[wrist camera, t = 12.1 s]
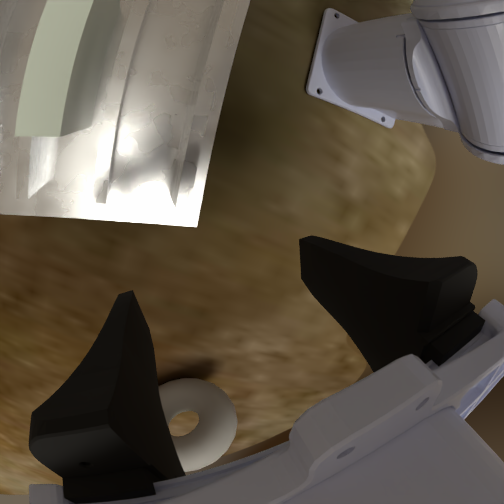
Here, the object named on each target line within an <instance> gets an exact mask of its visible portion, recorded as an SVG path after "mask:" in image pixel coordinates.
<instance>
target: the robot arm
mask: <svg viewBox="0 0 504 504" xmlns="http://www.w3.org/2000/svg"><path fill="white" fill-rule="evenodd" d="M410 10H411V11H412V13H409V14H402V15H396V16H390V17H384V18H379V19H374V20H369V21H364V22H360V23H358V22H357V21H355V20H353V19H351V18H350V17H348V16H346V15H344V14H342V13H340V12H338V11H337V10H335V9H333V8H328V9H326V10H325V11H324V15H323V19H322V23H321V27H320V31H319V36H318V40H317V44H316V48H315V52H314V57H313V61H312V65H311V69H310V73H309V77H308V81H307V85H306V92H307V93H308V94H309V95H311V96H313V97H316V98H319V99H322V100H324V101H327V102H329V103H332V104H334V105H337V106H339V107H342V108H344V109H347V110H349V111H351V112H354V113H356V114H358V115H361V116H363V117H365V118H367V119H370V120H372V121H374V122H376V123H378V124H380V125H382V126H385V127H387V128H392V127H393V125H394V122H395V119H399V120H405V121H411V122H416V123H421V124H426V125H431V126H436V127H441V128H444V129H446V130H450V131H454V132H458V133H459V134H460V138H461V141H462V143H463V145H464V146H465V147H466V149H467V150H468V151H469V152H471V153H472V154H473V155H475V156H477V157H479V158H481V159H483V160H486V161H489V162H493V163H497V164H503V165H504V0H414V1H413V4H411V6H410ZM334 14H335V15H336V16H337V18H336V17H335V16H334ZM317 89H319V91H320V93H319V94H317ZM381 118H382V121H381ZM299 246H300V263H301V279H302V280H303V282H304V283H305V285H306V286H307V288H308V289H309V291H310V292H311V293H312V295H313V296H314V297H315V298H316V299H317V300H318V302H319V303H320V304H321V305H322V306H323V307H324V308H325V309H326V310H327V311H328V312H329V313H330V314H331V315H332V316H333V318H334V319H335V320H336V321H337V322H338V323H339V324H340V325H341V326H342V327H343V328H344V330H345V331H346V332H347V333H348V335H349V336H350V337H351V339H352V340H353V342H354V343H355V344H356V346H357V347H358V349H359V350H360V351H361V353H362V355H363V356H364V358H365V359H366V361H367V362H368V364H369V365H370V367H371V369H372V370H373V372H374V373H373V374H371V375H369V376H368V377H365V378H364V379H362V380H360V381H358V382H356V383H355V384H353V385H351V386H349V387H347V388H345V389H343V390H341V391H339V392H337V393H335V394H333V395H331V396H329V397H327V398H325V399H324V400H322V401H320V402H319V403H317V404H315V405H314V406H312V407H311V408H309V409H307V410H306V411H305V412H304V413H303V414H302V415H301V416H300V417H299V418H298V419H297V420H296V421H295V423H294V425H293V428H292V431H291V432H290V435H289V439H290V440H289V441H287V442H285V443H282V444H280V445H277V446H275V447H272V448H270V449H267V450H265V451H262V452H260V453H257V454H254V455H252V456H249V457H246V458H243V459H240V460H237V461H234V462H231V463H228V464H225V465H222V466H218V467H215V468H212V469H209V470H205V471H202V472H198V473H194V474H190V475H185V472H184V470H183V468H182V465H181V463H180V460H179V457H178V454H177V452H176V449H175V446H174V443H173V440H172V437H171V434H170V431H169V428H168V425H167V422H166V418H165V415H164V411H163V407H162V404H161V399H160V394H159V387H158V379H157V371H156V363H155V354H154V347H153V343H152V339H151V334H150V330H149V327H148V325H147V323H146V320H145V318H144V316H143V313H142V311H141V309H140V306H139V304H138V302H137V299H136V297H135V294H134V292H133V290H132V291H128V292H125V293H122V294H119V295H118V297H117V299H116V301H115V303H114V305H113V307H112V309H111V311H110V314H109V316H108V318H107V320H106V322H105V324H104V326H103V328H102V330H101V331H100V333H99V335H98V337H97V339H96V341H95V342H94V344H93V346H92V347H91V349H90V350H89V352H88V353H87V355H86V356H85V358H84V359H83V361H82V362H81V363H80V365H79V366H78V367H77V368H76V370H75V371H74V372H73V373H72V374H71V376H70V377H69V378H68V379H67V380H66V382H65V383H64V384H63V385H62V386H61V387H60V388H59V389H58V390H57V391H56V392H55V393H54V394H53V395H52V396H51V397H50V398H49V399H47V400H46V401H45V402H44V403H43V404H42V405H40V406H39V407H38V408H37V409H36V410H34V411H33V412H32V415H31V424H30V435H29V450H30V451H31V453H32V454H33V456H34V457H35V458H36V459H37V460H38V461H40V462H41V463H42V464H43V465H45V466H46V467H48V468H49V469H50V470H52V471H53V472H55V473H56V474H58V475H59V476H61V477H62V478H63V486H61V485H57V484H31V485H29V500H30V504H504V463H503V461H502V460H501V459H500V458H499V457H498V456H497V455H496V454H495V452H494V451H493V450H492V449H491V448H490V447H489V446H488V445H487V444H486V443H485V442H484V441H483V439H482V438H481V437H480V436H479V435H477V433H476V432H475V431H474V430H473V429H472V428H471V427H470V426H469V425H468V424H467V422H466V421H465V420H464V419H465V418H466V417H467V416H468V414H469V413H471V411H472V410H473V409H474V408H475V407H476V406H477V405H478V404H479V403H480V402H481V401H482V400H483V399H484V397H485V396H486V395H487V394H488V393H489V392H490V391H491V390H492V388H493V387H494V386H495V385H496V384H497V383H498V381H499V380H500V379H501V378H502V377H503V376H504V305H502V304H501V303H500V302H498V301H497V300H495V299H493V300H491V302H489V303H488V304H487V305H486V306H485V307H484V308H483V309H482V310H481V311H480V313H479V314H476V313H475V312H474V311H473V310H474V309H475V305H473V304H472V303H471V302H470V299H471V296H472V293H473V290H474V287H475V284H476V280H477V267H476V265H475V264H474V263H473V262H471V261H470V260H468V259H466V258H465V257H462V256H458V257H446V258H413V257H402V256H394V255H388V254H382V253H377V252H372V251H368V250H364V249H360V248H356V247H353V246H349V245H346V244H342V243H339V242H335V241H332V240H329V239H325V238H321V237H317V236H308V237H305V238H302V239H299Z"/></svg>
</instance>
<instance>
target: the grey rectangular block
mask: <svg viewBox="0 0 504 504" xmlns="http://www.w3.org/2000/svg"><path fill="white" fill-rule="evenodd" d="M120 9H121V8H120V0H47V2H46V5H45V8H44V10H43V13H42V16H41V19H40V22H39V24H38V28H37V31H36V34H35V37H34V40H33V44H32V47H31V51H30V55H29V58H28V62H27V66H26V71H25V75H24V80H23V85H22V90H21V95H20V101H19V107H18V113H17V120H16V128H15V136H34V137H62V136H65V135H68V134H71V133H74V132H77V131H80V130H84V129H87V128H90V127H91V122H92V116H93V110H94V105H95V100H96V95H97V90H98V86H99V81H100V77H101V73H102V69H103V65H104V61H105V57H106V53H107V50H108V46H109V43H110V39H111V36H112V33H113V30H114V27H115V24H116V20H117V18H118V15H119V12H120Z"/></svg>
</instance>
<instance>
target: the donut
mask: <svg viewBox="0 0 504 504" xmlns="http://www.w3.org/2000/svg"><path fill="white" fill-rule="evenodd" d="M158 387H159V394H160V399H161V404H162V407H163V411H164V415H165V418H166V422H167V425H169V422H170V421H171V419H172V418H173V417H175V416H176V415H177V414H179V413H181V412H184V411H194V412H196V413H198V415H199V423H198V425H197V426H196V428H195V429H194V430H193V431H191V432H190V433H188V434H186V435H184V436H179V437H176V436H172V435H171V437H172V440H173V443H174V446H175V449H176V452H177V454H178V457H179V460H180V463H181V465H182V468H183V470H184V472H186V471H193V470H199V469H201V468H203V467H205V466H207V465H210V464H212V463H214V462H215V461H216V460H217V459H218V458H220V457H221V456H222V455H223V454H224V453H225V452H226V451H227V450H228V448H229V446H230V444H231V443H232V441H233V439H234V437H235V433H236V427H237V417H236V412H235V408H234V404H233V403H232V401H231V400H230V398H229V397H228V395H227V394H226V393H225V392H224V391H223V390H222V389H220V388H219V387H217V386H216V385H215V384H213V383H210V382H207V381H204V380H201V379H198V378H182V379H177V380H172V381H169V382H167V383H165V384H163V385H160V386H158Z"/></svg>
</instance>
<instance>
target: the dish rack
mask: <svg viewBox="0 0 504 504" xmlns="http://www.w3.org/2000/svg"><path fill="white" fill-rule="evenodd" d="M46 2H47V0H0V214H9V215H29V216H47V217H64V218H80V219H95V220H110V221H124V222H138V223H151V224H164V225H177V226H189V227H197V224H198V218H199V213H200V207H201V202H202V197H203V191H204V186H205V181H206V176H207V171H208V166H209V162H210V157H211V152H212V147H213V143H214V138H215V134H216V129H217V125H218V120H219V116H220V112H221V108H222V103H223V99H224V95H225V91H226V87H227V83H228V79H229V75H230V71H231V67H232V64H233V60H234V56H235V52H236V49H237V45H238V41H239V38H240V34H241V31H242V27H243V24H244V20H245V17H246V13H247V10H248V7H249V3H250V0H120V8H121V9H120V12H119V15H118V18H117V20H116V24H115V27H114V30H113V33H112V36H111V39H110V43H109V46H108V50H107V53H106V57H105V61H104V65H103V69H102V73H101V77H100V81H99V86H98V90H97V95H96V100H95V105H94V110H93V116H92V122H91V127H90V128H87V129H84V130H80V131H77V132H74V133H71V134H68V135H65V136H62V137H34V136H15V128H16V120H17V113H18V107H19V101H20V95H21V90H22V85H23V80H24V75H25V71H26V66H27V62H28V58H29V55H30V51H31V47H32V44H33V40H34V37H35V34H36V31H37V28H38V24H39V22H40V19H41V16H42V13H43V10H44V8H45V5H46Z"/></svg>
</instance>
